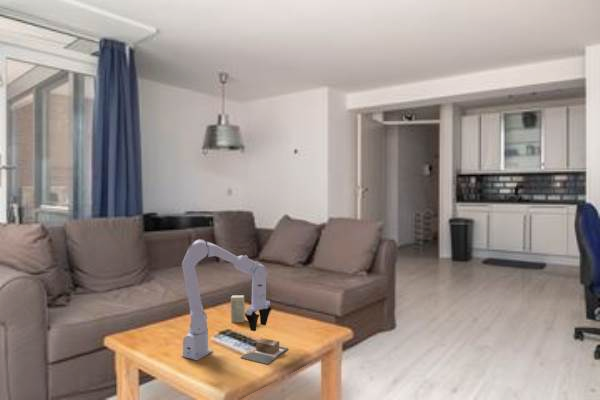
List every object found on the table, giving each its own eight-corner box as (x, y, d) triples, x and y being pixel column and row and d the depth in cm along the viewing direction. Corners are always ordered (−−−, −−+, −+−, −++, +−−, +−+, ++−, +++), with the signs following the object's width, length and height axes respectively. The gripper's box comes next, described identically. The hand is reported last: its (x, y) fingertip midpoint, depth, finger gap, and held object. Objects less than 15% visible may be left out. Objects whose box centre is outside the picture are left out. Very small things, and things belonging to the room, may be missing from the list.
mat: (267, 364, 150) (267, 363, 150) (240, 358, 155) (240, 357, 155) (288, 349, 164) (288, 348, 164) (262, 343, 169) (262, 342, 169)
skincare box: (244, 319, 199) (245, 294, 198) (243, 322, 194) (244, 297, 194) (231, 319, 198) (231, 294, 198) (230, 322, 194) (230, 297, 194)
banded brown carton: (255, 350, 161) (255, 341, 161) (261, 346, 165) (261, 337, 165) (273, 354, 157) (273, 345, 157) (279, 350, 161) (279, 341, 161)
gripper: (257, 300, 155) (256, 335, 155) (276, 291, 168) (276, 324, 168) (242, 297, 158) (241, 332, 159) (262, 289, 171) (261, 321, 172)
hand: (258, 327), depth 164 cm, fingers open, 7 cm apart
